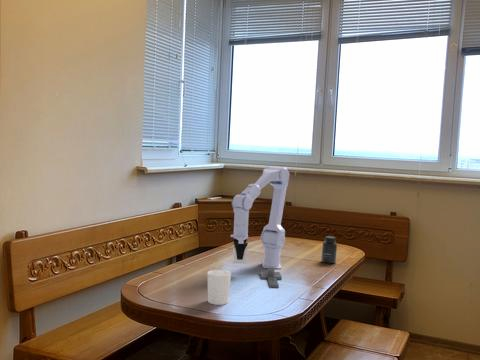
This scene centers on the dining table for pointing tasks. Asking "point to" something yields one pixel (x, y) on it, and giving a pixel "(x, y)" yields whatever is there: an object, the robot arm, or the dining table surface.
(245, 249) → the brushed metal cube
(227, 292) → the white cup
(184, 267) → the dining table surface
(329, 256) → the supplement bottle
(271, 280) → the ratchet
